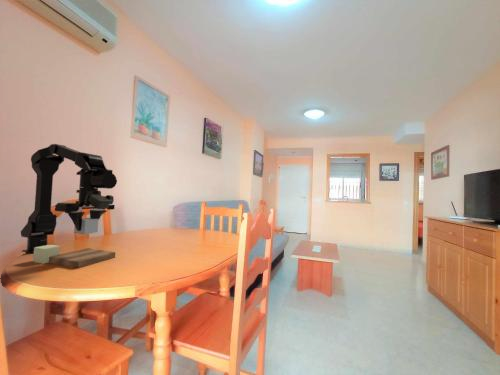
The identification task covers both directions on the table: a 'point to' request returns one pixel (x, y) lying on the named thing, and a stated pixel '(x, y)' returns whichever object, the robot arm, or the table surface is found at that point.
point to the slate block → (88, 226)
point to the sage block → (45, 253)
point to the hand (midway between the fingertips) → (86, 229)
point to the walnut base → (81, 257)
